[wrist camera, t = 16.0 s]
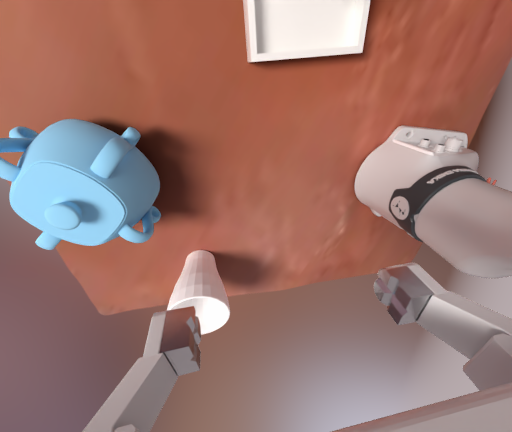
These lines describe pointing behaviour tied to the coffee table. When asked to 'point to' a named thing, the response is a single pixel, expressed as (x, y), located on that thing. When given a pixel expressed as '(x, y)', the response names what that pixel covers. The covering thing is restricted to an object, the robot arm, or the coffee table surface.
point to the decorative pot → (81, 183)
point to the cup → (202, 291)
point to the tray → (304, 28)
